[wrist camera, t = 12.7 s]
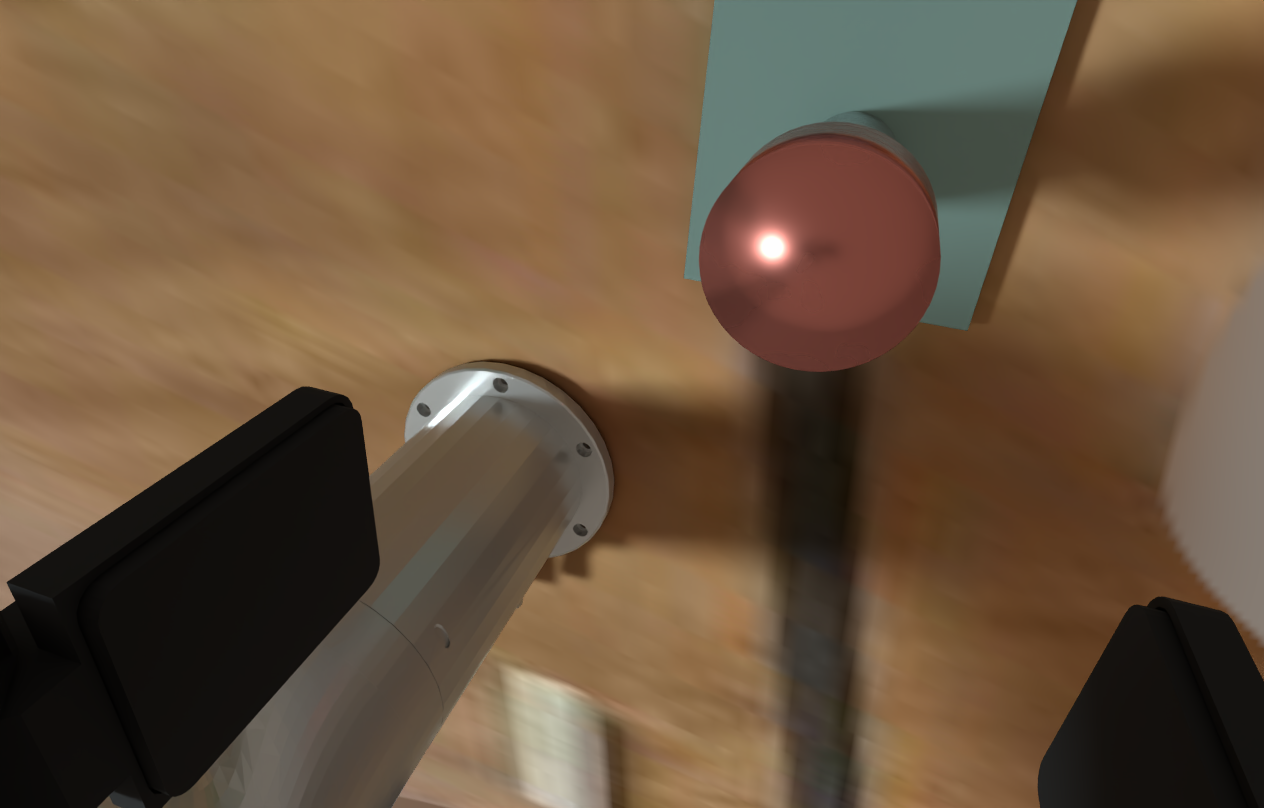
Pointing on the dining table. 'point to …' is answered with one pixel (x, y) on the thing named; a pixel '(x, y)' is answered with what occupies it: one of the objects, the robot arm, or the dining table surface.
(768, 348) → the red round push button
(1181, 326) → the dining table surface
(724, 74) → the mat
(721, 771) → the dining table surface
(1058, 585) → the dining table surface
